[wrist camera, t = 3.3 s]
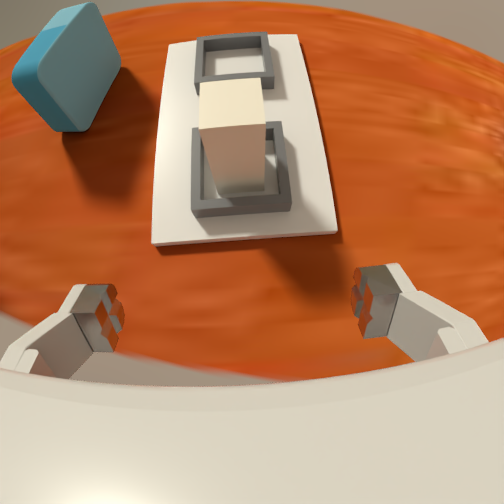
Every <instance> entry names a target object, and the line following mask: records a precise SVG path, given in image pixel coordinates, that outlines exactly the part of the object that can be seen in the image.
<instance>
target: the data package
mask: <svg viewBox="0 0 504 504" xmlns="http://www.w3.org/2000/svg"><path fill="white" fill-rule="evenodd" d="M120 67H121V58H120V55H119V53H118V51H117V49H116V47H115V44H114V42H113V40H112V38H111V36H110V34H109V32H108V29H107V27H106V25H105V23H104V21H103V18H102V16H101V14H100V12H99V10H98V8H97V6H96V5H95V4H94V3H92V2H88V3H84V4H80V5H76V6H72V7H69V8H65V9H62V10H60V11H58V12H57V13H56V15H55V16H54V17H53V18H52V19H51V20H50V21H49V23H48V24H47V25H46V26H45V27H44V29H43V30H42V31H41V32H40V34H39V35H38V36H37V37H36V38H35V40H34V41H33V42H32V44H31V45H30V46H29V47H28V49H27V50H26V51H25V53H24V54H23V56H22V57H21V58H20V60H19V61H18V63H17V64H16V65H15V67H14V69H13V72H12V83H13V85H14V87H15V88H16V89H17V90H18V92H19V93H20V94H21V95H22V96H23V97H24V98H25V99H26V101H27V102H28V103H29V104H30V105H31V106H32V107H33V108H34V109H35V111H36V112H37V113H38V114H39V115H40V116H41V117H42V118H43V119H44V120H45V121H46V122H47V124H48V125H49V126H50V127H51V128H52V129H53V130H54V131H56V132H83V131H86V130H87V129H88V128H89V127H90V126H91V124H92V122H93V119H94V117H95V115H96V113H97V111H98V109H99V107H100V105H101V103H102V101H103V99H104V97H105V96H106V94H107V92H108V90H109V88H110V86H111V84H112V83H113V81H114V79H115V77H116V75H117V74H118V72H119V70H120Z"/></svg>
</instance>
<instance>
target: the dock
mask: <svg viewBox="0 0 504 504" xmlns="http://www.w3.org/2000/svg"><path fill="white" fill-rule="evenodd" d="M246 78H260V79H261V87H262V95H263V104H264V112H265V121H266V137H265V176H264V191H256V192H242V193H229V194H218V192H217V189H216V185H215V182H214V179H213V175H212V172H211V169H210V166H209V162H208V159H207V156H206V152H205V149H204V146H203V142H202V139H201V136H200V132H199V95H200V83H203V82H211V81H221V80H232V79H246ZM337 231H338V229H337V222H336V215H335V208H334V202H333V196H332V190H331V184H330V178H329V173H328V167H327V162H326V156H325V151H324V146H323V141H322V136H321V131H320V126H319V122H318V117H317V113H316V108H315V104H314V99H313V95H312V91H311V87H310V83H309V79H308V75H307V71H306V67H305V63H304V59H303V55H302V52H301V48H300V44H299V41H298V37H297V35H294V34H282V35H267V32H249V33H234V34H223V35H213V36H204V37H197V41H190V42H183V43H177V44H171V45H169V49H168V55H167V61H166V68H165V75H164V82H163V89H162V97H161V105H160V114H159V123H158V134H157V145H156V157H155V171H154V188H153V209H152V244H153V245H154V246H167V245H180V244H193V243H207V242H220V241H234V240H248V239H262V238H277V237H292V236H307V235H323V234H335V233H336V232H337Z"/></svg>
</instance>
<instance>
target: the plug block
mask: <svg viewBox="0 0 504 504" xmlns="http://www.w3.org/2000/svg"><path fill="white" fill-rule="evenodd" d="M199 132H200V136H201V139H202V142H203V146H204V149H205V152H206V156H207V159H208V162H209V166H210V169H211V172H212V175H213V179H214V182H215V185H216V189H217V192H218V194H229V193H242V192H256V191H264V176H265V137H266V121H265V112H264V104H263V95H262V87H261V79H260V78H246V79H232V80H221V81H211V82H203V83H200V95H199Z"/></svg>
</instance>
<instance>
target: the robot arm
mask: <svg viewBox="0 0 504 504" xmlns="http://www.w3.org/2000/svg"><path fill="white" fill-rule="evenodd" d="M353 278H354V280H355V283H356V285H355V286H354V287H353V288H352V291H351V306H352V310H353V313H354V316H356V317H357V318H359V322H358V326H359V329H360V331H361V334H362V336H363V339H367V338H375V337H383V336H387V338H388V339H390V340H391V341H392V342H393V343H394V344H396V345H397V346H398V347H399V348H400V349H401V350H403V351H404V352H405V353H406V354H407V355H409V356H410V357H411V358H412V359H413V360H414V361H416V362H414V363H409V364H405V365H400V366H395V367H390V368H385V369H379V370H374V371H368V372H362V373H356V374H349V375H343V376H336V377H328V378H320V379H312V380H303V381H293V382H282V383H271V384H255V385H237V386H202V387H201V386H200V387H183V386H182V387H181V386H142V385H124V384H110V383H98V382H87V381H78V380H70V379H69V378H70V377H71V376H72V375H73V374H74V373H75V372H76V371H77V370H78V369H79V368H80V366H81V365H83V363H84V362H85V361H86V360H87V359H88V358H89V357H90V356H91V355H92V354H93V352H114V351H115V348H116V345H117V342H118V339H119V338H118V335H117V333H118V332H119V331H120V330H122V328H123V325H124V317H125V314H124V309H123V306H122V304H121V302H119V301H118V300H117V299H116V296H117V291H116V288H115V286H114V285H113V284H77V285H74V286H73V288H72V289H71V291H70V293H69V294H68V296H67V297H66V299H65V301H64V302H63V304H62V306H61V308H60V309H59V311H58V313H53V314H52V315H51V316H49V317H48V318H46V319H45V320H43V321H42V322H41V323H39V324H38V325H36V326H35V327H34V328H32V329H31V330H29V331H28V332H27V333H25V334H24V335H23V336H21V337H20V338H18V339H17V340H16V341H14V342H13V343H12V344H10V345H9V347H8V349H7V350H6V352H5V353H4V356H3V357H2V359H1V361H0V504H504V338H501V339H498V340H495V341H492V342H488V340H487V339H486V337H485V336H484V334H483V333H482V331H481V329H480V328H479V326H478V325H477V323H476V322H475V321H474V320H473V319H471V318H470V317H468V316H466V315H464V314H463V313H461V312H459V311H457V310H455V309H454V308H452V307H450V306H448V305H446V304H445V303H443V302H441V301H439V300H437V299H435V298H434V297H432V296H430V295H428V294H426V293H424V292H423V291H417V290H416V288H415V287H414V285H413V284H412V282H411V281H410V279H409V278H408V276H407V275H406V274H405V272H404V271H403V269H402V268H401V266H400V265H399V264H398V263H392V264H384V265H378V266H368V267H358V268H356V269H355V271H354V277H353Z"/></svg>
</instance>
